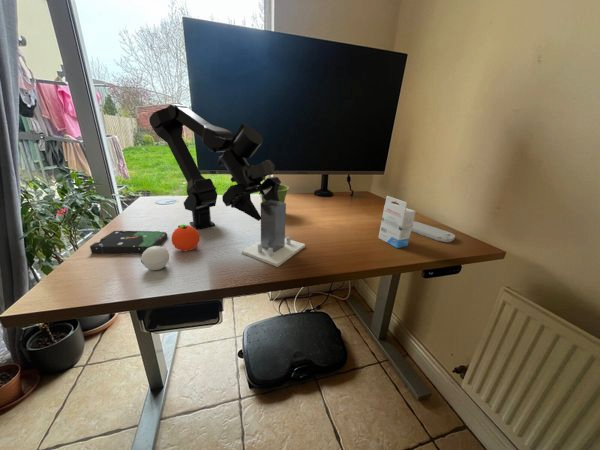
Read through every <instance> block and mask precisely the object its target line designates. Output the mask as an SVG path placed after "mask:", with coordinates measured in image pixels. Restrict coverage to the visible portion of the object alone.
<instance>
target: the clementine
mask: <svg viewBox="0 0 600 450" xmlns="http://www.w3.org/2000/svg"><path fill="white" fill-rule="evenodd" d="M200 240H201V238H200V233H199V231H198V229H195V228H194V227H193V226H192V225H189V224H188V225H186V224H180V225H179V224H178V226H177V228H176V229H174V231H172V235H171V244H172V245H173V246H174V248H175V249H177V250H179V251H181V252H189V251H192V250H194V249H195V248H196V247H197V246H198V245H199V242H200Z"/></svg>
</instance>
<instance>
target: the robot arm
mask: <svg viewBox="0 0 600 450" xmlns="http://www.w3.org/2000/svg"><path fill="white" fill-rule="evenodd" d="M148 121H149V124H150V127H151V128H152V130H153V131H154V132H155V134H156V135H157V137H159V138H160V139H161V140H163V141H164V142H165V143H166V144H167V145H168V148H169V150H170V152H171V153H172V155H173V157H174V159H175V161H176V163H177V165H178V167H179V169H180V170H181V173H182V175H183V177H184V178H185V180H186V183H187V185H186V195H187V197H186V198H185V200H184V201H183V207H184V209H185V210H187V211H190V212H191V213H192V214H191V215H192V221H189V224H190V226H191V227H193V228H195V229H196V230H199V229H203V228H208V227H209V228H210V227H213V226H216V223H214V222H213V221H212V217H211V208H212V207H215V206H216V204H217V199H218V192H217V188H216V186H215V184H214V182H213V180H212V179H211V178H205V177H204V176H203V175H202V173H201V172H200V169H199V167H198V165H197V164H196V162H195V159H194V158H193V156H192V154H191V152H190V150H189V147H188V146H187V144H186V142H185V139H184V138H183V131H184V128H183V127H184V126H185V127H186V128H188V129H189V130H190V131H192V132H193V133H194V134H196V135H197V136H199V137H200V139H201V141H202V144H203V145H204V146H205V147H206V149H208V151H210V152H212V153H222V155H219V156H218V160H217V165H216V166H217V167H225V168H226V169H227V171H228V173H229V174H230V175H231V178H230V181H231V183H236V184H232V185H230V186H229V187H228V189H226V190H225V192H224V194H223V195H222V202H223V204H224V206H226V207H231V208H232V209H237V210H238V211H240V212H242V213H244V214H246V215H247V216H250V217H251V218H252V219H254V220H256V221H258V222H260V221H261V214H260V213H259V211H258V210H257V208H256V207H255V205H254V203H253V202H252V199H251V195H252V194H256V193H261V194H263V195H264V196H263V198H264V199H265V200H266V201H269V200H275V201H279V198H278V193H277V192H278V188H279V187H280V184H281V185H282V181H281V180H280V178H279V177H278V176H272V175H274V174H275V173H274V171H275V170H276V169H275V168H276V165H275V164H274V163H273V161H271V159H267V160H266V159H265V161H262V162H260V163H257V164H255V165H254V164H250V163H248V161H247V159H250V158H251V157H252V156H253V155H254V154H255V153H256V152H257V150H258V148H259V147H260V146H261V145H262V144H263V143H264V142H263V141H264V139H263V136H262V135H261V133H259V132H258V131H256V129H254V128H252V127H250V126H249V125H248V123H241V124H240V125H239V127H238V130H237V131H236V132H235V134H234V133H233V132H232V131H231V130H228V129H226V128H223V127H221V126H217V125H213V124H212V123H210V122H209V121H207V120H206V119H204V118H202V116H199V114H197V113H195V112H194V111H193V110H191V109H190V108H189V107H188V106H187V105H183V104H177V103H171V104H170V105H168V106H167V107H165V108H162V109H158V110H156V111H154V112H152V114H151V115H150V117H149V120H148ZM270 175H271V177H270ZM267 176H269V177H267ZM265 177H267V178H266V179H265ZM261 182H262V183H261ZM261 194H260V195H261ZM279 202H280V201H279Z"/></svg>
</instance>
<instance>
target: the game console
mask: <svg viewBox="0 0 600 450" xmlns="http://www.w3.org/2000/svg"><path fill="white" fill-rule="evenodd" d="M411 233H414V234H418V235H419V236H423V237H426V238H428V239H432V240H434V241H437V242H442V243H451V242H453V241H454V240H455V237H456V235H455V234H454V233H452V232H450V231H447V230H444V229H440V228H438V227H434V226H431V225H428V224H425V223H422V222H419V221H415V220H414V221H413V225H412V229H411Z"/></svg>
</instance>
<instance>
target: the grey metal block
mask: <svg viewBox="0 0 600 450" xmlns="http://www.w3.org/2000/svg"><path fill="white" fill-rule="evenodd" d="M286 209H287V203H286V202H284V203H283V202H279V201H275V200H269V201H265V202H260V217H261V220H260V241H261V244H262V248H265V249H268V248H270V247H271V248H273V252H276V251H278V250H279V249H281V248H283V247H284V246H285V238H286V234H285V233H286V217H287V216H286V215H287V214H286V213H287V212H286V211H287V210H286Z"/></svg>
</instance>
